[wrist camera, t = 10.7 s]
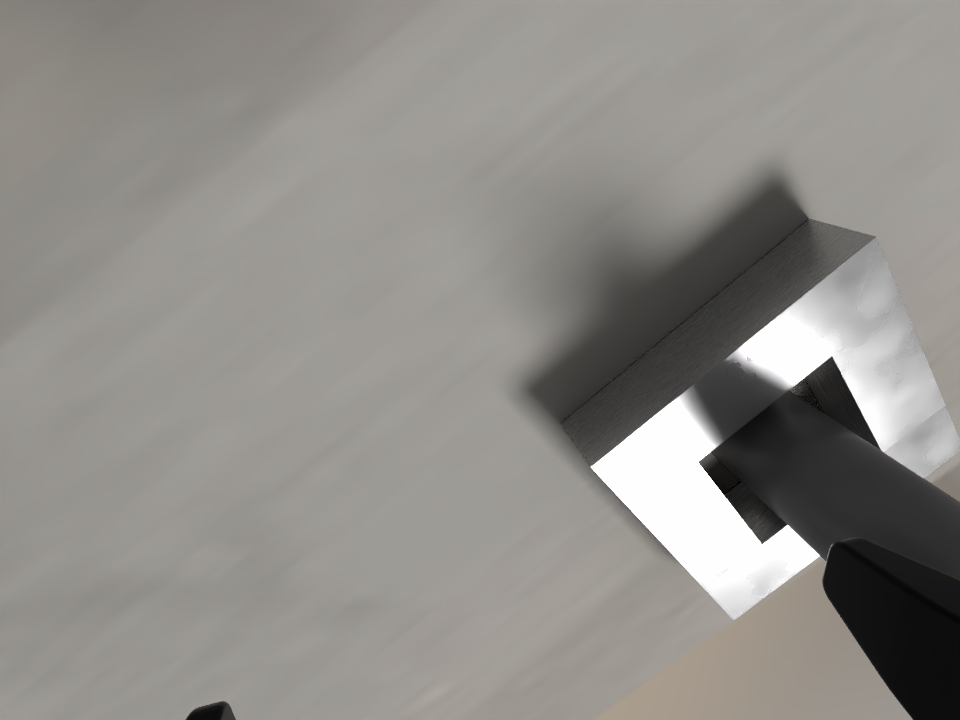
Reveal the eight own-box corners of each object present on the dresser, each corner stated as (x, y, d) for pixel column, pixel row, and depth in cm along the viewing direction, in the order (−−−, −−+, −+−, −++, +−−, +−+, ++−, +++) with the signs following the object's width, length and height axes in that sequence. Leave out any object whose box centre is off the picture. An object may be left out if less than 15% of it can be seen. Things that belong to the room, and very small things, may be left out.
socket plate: (696, 570, 28) (733, 620, 26) (560, 423, 23) (590, 467, 20) (901, 413, 27) (963, 448, 25) (809, 218, 22) (876, 236, 19)
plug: (726, 473, 26) (1015, 752, 15) (685, 419, 24) (981, 693, 13) (798, 416, 26) (1150, 661, 15) (763, 357, 24) (1134, 587, 13)
